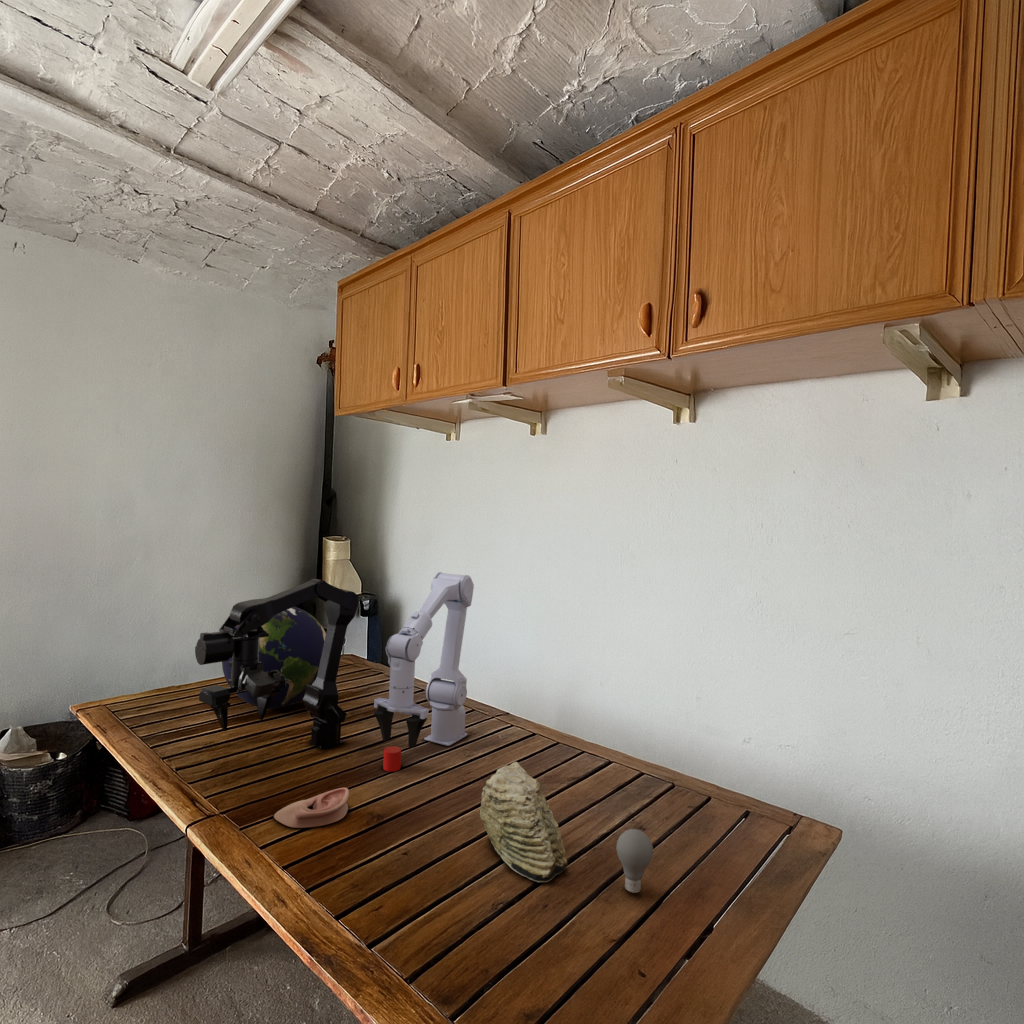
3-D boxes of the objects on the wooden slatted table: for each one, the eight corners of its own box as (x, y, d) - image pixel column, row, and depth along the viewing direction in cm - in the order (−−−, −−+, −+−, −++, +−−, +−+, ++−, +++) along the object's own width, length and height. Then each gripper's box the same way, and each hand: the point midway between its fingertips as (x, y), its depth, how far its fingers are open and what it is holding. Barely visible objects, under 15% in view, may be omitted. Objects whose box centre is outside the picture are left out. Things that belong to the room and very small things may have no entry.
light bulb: (610, 879, 108) (613, 822, 108) (644, 879, 109) (647, 822, 109) (619, 902, 102) (622, 840, 102) (655, 901, 103) (658, 840, 103)
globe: (289, 685, 209) (292, 594, 208) (348, 705, 191) (352, 606, 191) (199, 706, 185) (203, 604, 184) (258, 732, 167) (262, 619, 167)
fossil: (501, 827, 124) (504, 751, 124) (575, 868, 111) (578, 784, 111) (467, 843, 118) (470, 763, 118) (541, 889, 105) (545, 799, 105)
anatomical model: (265, 803, 122) (297, 778, 133) (264, 823, 122) (296, 796, 133) (329, 813, 119) (356, 786, 130) (328, 833, 119) (355, 805, 130)
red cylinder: (399, 772, 147) (399, 753, 147) (381, 771, 147) (382, 752, 147) (401, 764, 151) (402, 746, 151) (384, 764, 151) (385, 745, 151)
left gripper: (227, 672, 133) (225, 745, 134) (301, 656, 149) (299, 722, 149) (198, 662, 140) (196, 733, 140) (272, 648, 155) (270, 711, 155)
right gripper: (366, 684, 149) (364, 741, 149) (416, 695, 142) (414, 755, 142) (385, 677, 155) (383, 732, 155) (434, 687, 148) (432, 745, 149)
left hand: (243, 725), depth 146 cm, fingers open, 9 cm apart
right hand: (399, 742), depth 149 cm, fingers open, 7 cm apart
